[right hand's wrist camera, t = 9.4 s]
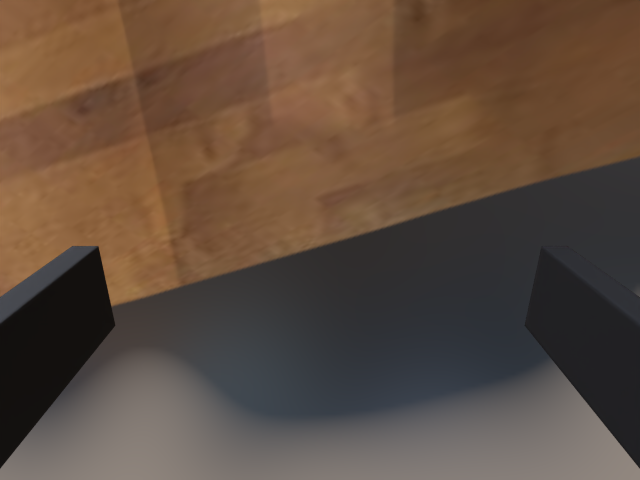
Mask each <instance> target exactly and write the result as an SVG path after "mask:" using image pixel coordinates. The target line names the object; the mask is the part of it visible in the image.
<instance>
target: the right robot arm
mask: <svg viewBox="0 0 640 480" xmlns="http://www.w3.org/2000/svg"><path fill="white" fill-rule="evenodd" d="M114 326H115V322H114V317H113V313H112V308H111V303H110V299H109V294H108V289H107V284H106V280H105V275H104V270H103V266H102V261H101V256H100V252H99V247H98V246H72V247H71V248H69V249H68V250H66V251H65V252H63V253H62V254H61V255H59V256H58V257H56V258H55V259H54V260H52V261H51V262H49V263H48V264H47V265H45V266H44V267H42V268H41V269H39V270H38V271H37V272H35V273H34V274H32V275H31V276H30V277H28V278H27V279H25V280H24V281H22V282H21V283H20V284H18V285H17V286H15V287H14V288H13V289H11V290H10V291H8V292H7V293H6V294H4V295H3V296H1V297H0V468H1V467H2V466H3V464H4V463H5V462H6V461H7V459H8V458H9V457H10V456H11V454H12V453H13V452H14V451H15V449H16V448H17V447H18V446H19V445H20V443H21V442H22V441H23V440H24V438H25V437H26V436H27V435H28V433H29V432H30V431H31V430H32V428H33V427H34V426H35V425H36V423H37V422H38V421H39V420H40V418H41V417H42V416H43V415H44V413H45V412H46V411H47V410H48V408H49V407H50V406H51V405H52V403H53V402H54V401H55V400H56V399H57V397H58V396H59V395H60V394H61V392H62V391H63V390H64V389H65V387H66V386H67V385H68V384H69V382H70V381H71V380H72V379H73V377H74V376H75V375H76V374H77V372H78V371H79V370H80V369H81V367H82V366H83V365H84V364H85V362H86V361H87V360H88V359H89V358H90V356H91V355H92V354H93V353H94V351H95V350H96V349H97V348H98V346H99V345H100V344H101V343H102V341H103V340H104V339H105V338H106V336H107V335H108V334H109V333H110V331H111V330H112V329H113V328H114ZM525 326H526V328H527V329H528V330H529V331H530V333H531V334H532V335H533V336H534V338H535V339H536V340H537V341H538V343H539V344H540V345H541V346H542V348H543V349H544V350H545V351H546V353H547V354H548V355H549V356H550V357H551V359H552V360H553V361H554V362H555V364H556V365H557V366H558V367H559V369H560V370H561V371H562V372H563V374H564V375H565V376H566V377H567V379H568V380H569V381H570V382H571V384H572V385H573V386H574V387H575V389H576V390H577V391H578V392H579V394H580V395H581V396H582V397H583V399H584V400H585V401H586V402H587V403H588V405H589V406H590V407H591V408H592V410H593V411H594V412H595V413H596V415H597V416H598V417H599V418H600V420H601V421H602V422H603V423H604V425H605V426H606V427H607V428H608V430H609V431H610V432H611V433H612V434H613V436H614V437H615V438H616V440H617V441H618V442H619V443H620V445H621V446H622V447H623V448H624V449H625V451H626V452H627V453H628V454H629V456H630V457H631V458H632V459H633V461H634V462H635V463H636V464H637V466H638V467H639V468H640V297H639V296H637V295H636V294H634V293H633V292H632V291H630V290H629V289H627V288H626V287H625V286H623V285H622V284H620V283H619V282H618V281H616V280H615V279H613V278H612V277H610V276H609V275H608V274H606V273H605V272H603V271H602V270H600V269H599V268H598V267H596V266H595V265H593V264H592V263H591V262H589V261H588V260H586V259H585V258H584V257H582V256H581V255H579V254H578V253H577V252H575V251H574V250H572V249H571V248H569V247H568V246H542V247H541V252H540V257H539V261H538V266H537V270H536V275H535V280H534V285H533V289H532V294H531V299H530V303H529V308H528V313H527V317H526V322H525Z"/></svg>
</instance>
